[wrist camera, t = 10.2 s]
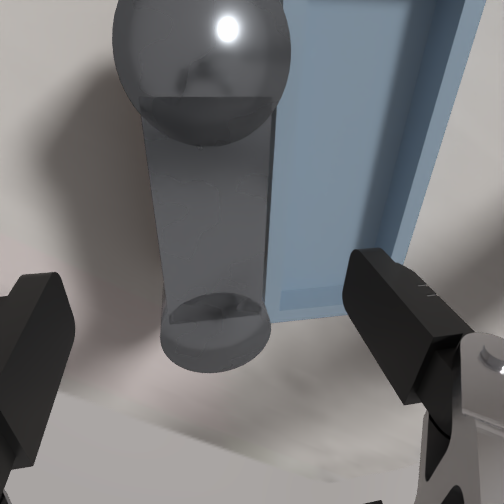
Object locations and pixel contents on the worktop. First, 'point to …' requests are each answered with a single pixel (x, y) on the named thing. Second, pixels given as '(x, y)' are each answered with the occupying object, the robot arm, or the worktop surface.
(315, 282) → the slate-blue tray
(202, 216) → the steel dumbbell
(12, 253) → the worktop surface
